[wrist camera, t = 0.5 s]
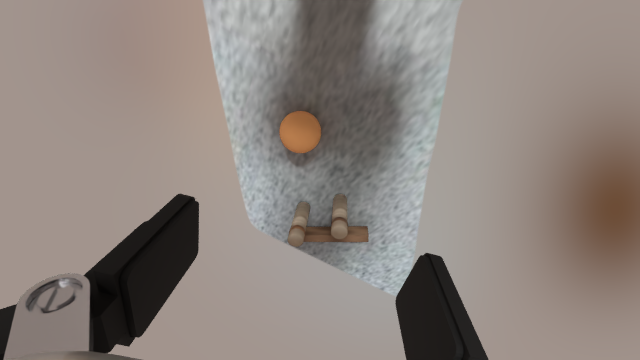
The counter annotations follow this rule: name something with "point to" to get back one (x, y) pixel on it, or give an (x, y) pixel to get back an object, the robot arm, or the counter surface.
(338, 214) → the pin
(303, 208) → the pin side
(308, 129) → the ball
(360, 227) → the back rail
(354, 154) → the counter surface
